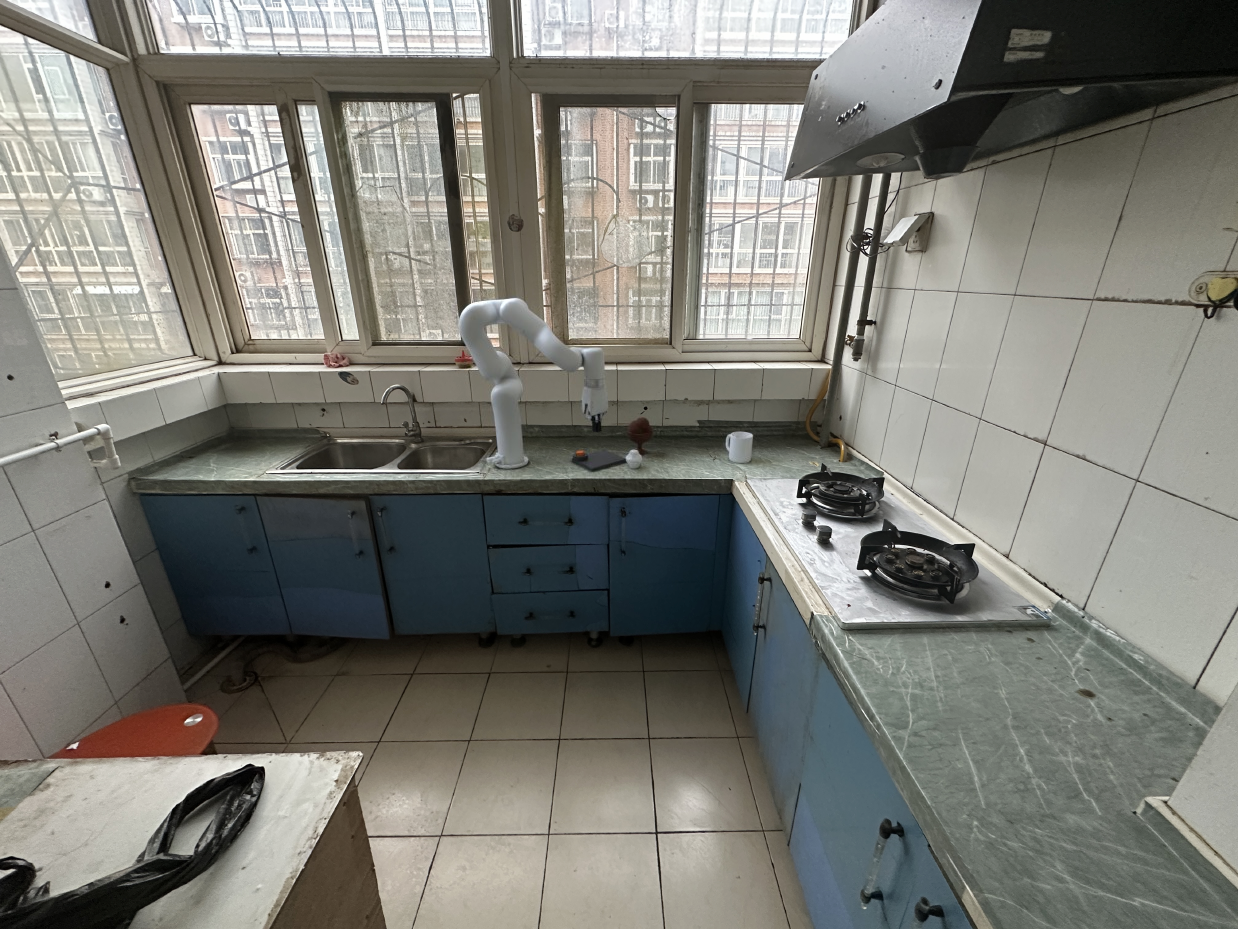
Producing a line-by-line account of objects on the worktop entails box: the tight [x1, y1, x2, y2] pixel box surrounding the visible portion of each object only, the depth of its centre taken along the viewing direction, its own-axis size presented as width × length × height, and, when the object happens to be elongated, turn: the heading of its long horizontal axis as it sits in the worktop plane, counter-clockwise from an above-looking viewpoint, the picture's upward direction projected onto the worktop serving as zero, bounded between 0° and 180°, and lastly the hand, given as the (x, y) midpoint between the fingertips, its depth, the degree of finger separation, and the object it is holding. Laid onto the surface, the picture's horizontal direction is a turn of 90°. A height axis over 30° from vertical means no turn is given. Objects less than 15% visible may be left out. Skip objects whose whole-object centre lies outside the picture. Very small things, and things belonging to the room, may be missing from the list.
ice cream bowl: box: [626, 416, 654, 456], centre depth 199 cm, size 11×11×15 cm
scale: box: [571, 449, 627, 472], centre depth 192 cm, size 16×14×3 cm
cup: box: [725, 431, 754, 464], centre depth 193 cm, size 8×12×10 cm
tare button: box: [576, 450, 584, 456], centre depth 192 cm, size 3×3×2 cm
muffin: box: [625, 449, 643, 469], centre depth 186 cm, size 6×6×7 cm
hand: (596, 431), depth 187 cm, fingers closed
